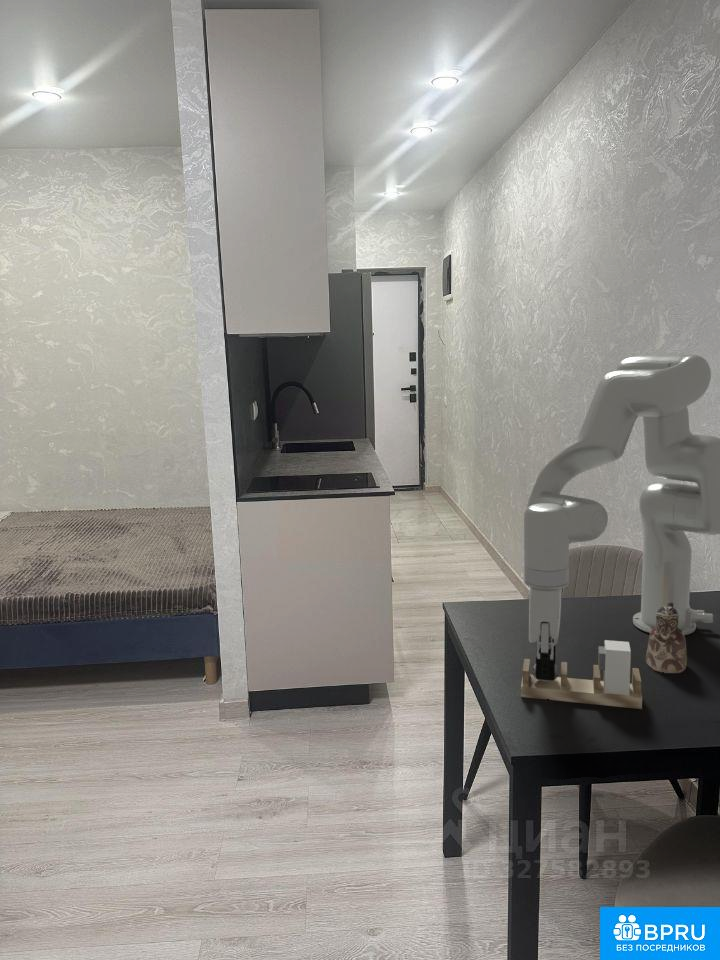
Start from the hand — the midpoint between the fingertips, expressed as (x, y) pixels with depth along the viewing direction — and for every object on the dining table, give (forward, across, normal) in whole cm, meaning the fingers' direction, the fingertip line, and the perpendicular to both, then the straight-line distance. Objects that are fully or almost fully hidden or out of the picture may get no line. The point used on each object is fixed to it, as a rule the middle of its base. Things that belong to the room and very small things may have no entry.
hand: (545, 671), depth 124 cm
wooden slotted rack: (+4, 0, +6) cm, 7 cm away
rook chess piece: (+1, 0, 0) cm, 1 cm away
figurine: (+4, -16, +22) cm, 27 cm away
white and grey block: (+2, 0, +12) cm, 12 cm away
